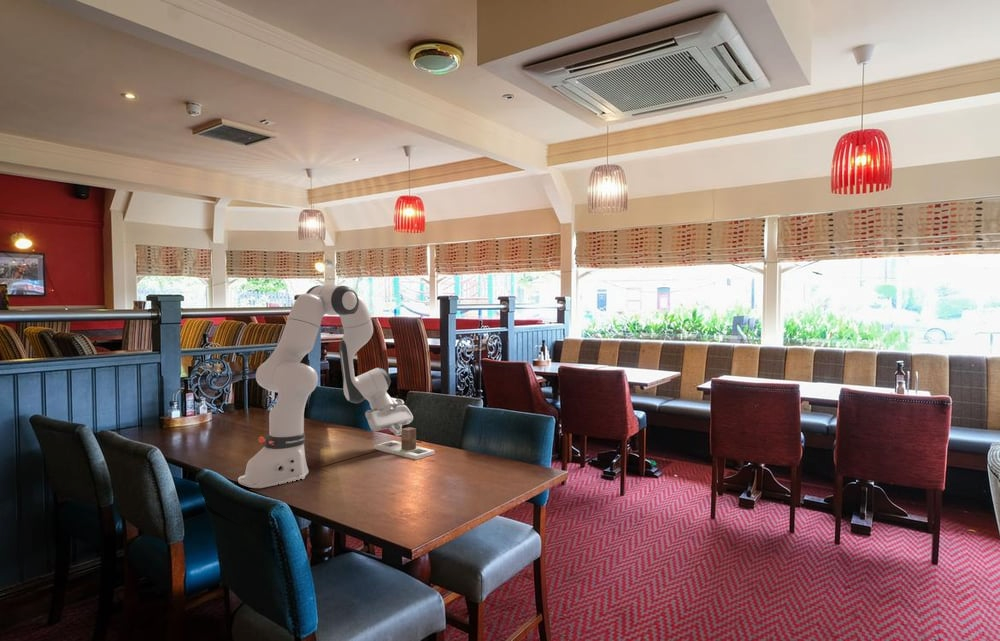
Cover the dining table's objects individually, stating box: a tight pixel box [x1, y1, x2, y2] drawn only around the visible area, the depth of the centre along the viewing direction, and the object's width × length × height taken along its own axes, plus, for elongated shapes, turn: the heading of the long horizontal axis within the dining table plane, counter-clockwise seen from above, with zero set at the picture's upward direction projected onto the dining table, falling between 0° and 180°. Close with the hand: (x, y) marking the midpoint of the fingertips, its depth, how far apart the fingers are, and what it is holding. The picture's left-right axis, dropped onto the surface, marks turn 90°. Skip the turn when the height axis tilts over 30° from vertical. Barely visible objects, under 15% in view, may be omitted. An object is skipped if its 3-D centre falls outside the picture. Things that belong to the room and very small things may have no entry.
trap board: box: [373, 439, 436, 461], centre depth 222 cm, size 10×24×2 cm, turn 52°
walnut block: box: [400, 426, 417, 451], centre depth 220 cm, size 4×4×8 cm
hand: (399, 434), depth 223 cm, fingers closed
